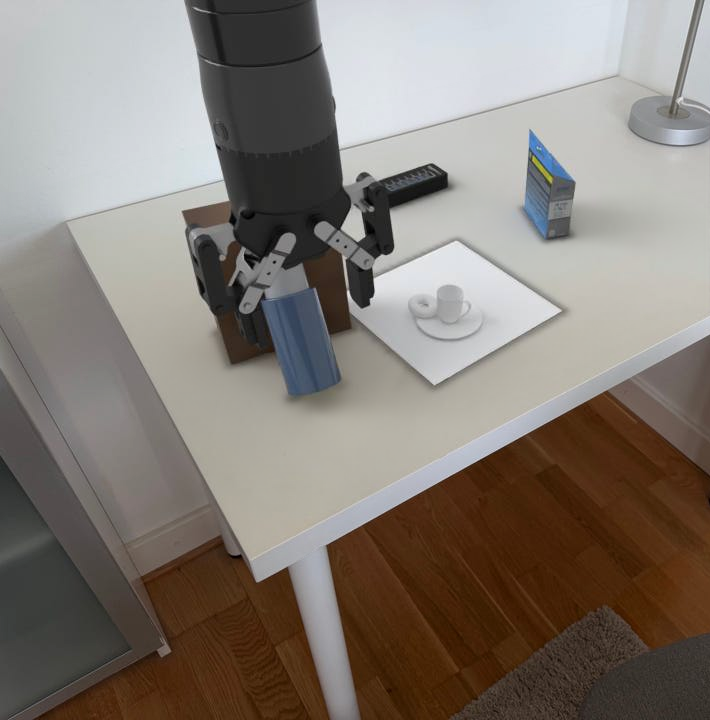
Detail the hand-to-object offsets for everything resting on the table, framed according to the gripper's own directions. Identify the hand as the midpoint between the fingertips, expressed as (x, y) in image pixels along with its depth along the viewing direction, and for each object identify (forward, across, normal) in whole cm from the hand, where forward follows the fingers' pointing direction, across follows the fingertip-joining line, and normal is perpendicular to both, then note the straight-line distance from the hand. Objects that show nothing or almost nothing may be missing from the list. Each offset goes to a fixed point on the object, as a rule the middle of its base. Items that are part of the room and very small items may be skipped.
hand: (311, 321), depth 54 cm
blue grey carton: (+18, -45, -23) cm, 53 cm away
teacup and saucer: (+18, -22, -15) cm, 32 cm away
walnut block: (+18, -4, -21) cm, 28 cm away
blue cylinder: (+18, -3, -13) cm, 22 cm away
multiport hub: (+18, -33, -41) cm, 55 cm away
